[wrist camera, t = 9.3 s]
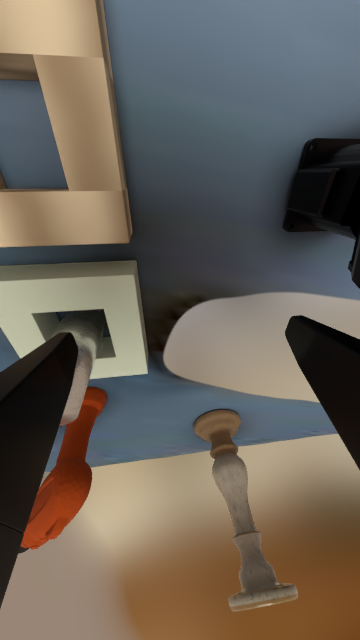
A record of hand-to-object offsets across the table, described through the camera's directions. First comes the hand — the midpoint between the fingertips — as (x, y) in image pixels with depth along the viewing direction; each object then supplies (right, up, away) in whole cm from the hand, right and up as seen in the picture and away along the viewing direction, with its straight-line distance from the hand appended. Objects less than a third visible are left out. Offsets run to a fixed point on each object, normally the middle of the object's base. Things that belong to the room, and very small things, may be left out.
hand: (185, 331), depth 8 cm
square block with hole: (-10, +1, +14) cm, 17 cm away
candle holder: (+7, -19, +30) cm, 36 cm away
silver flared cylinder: (-10, +1, +14) cm, 17 cm away
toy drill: (-17, -15, +24) cm, 33 cm away
